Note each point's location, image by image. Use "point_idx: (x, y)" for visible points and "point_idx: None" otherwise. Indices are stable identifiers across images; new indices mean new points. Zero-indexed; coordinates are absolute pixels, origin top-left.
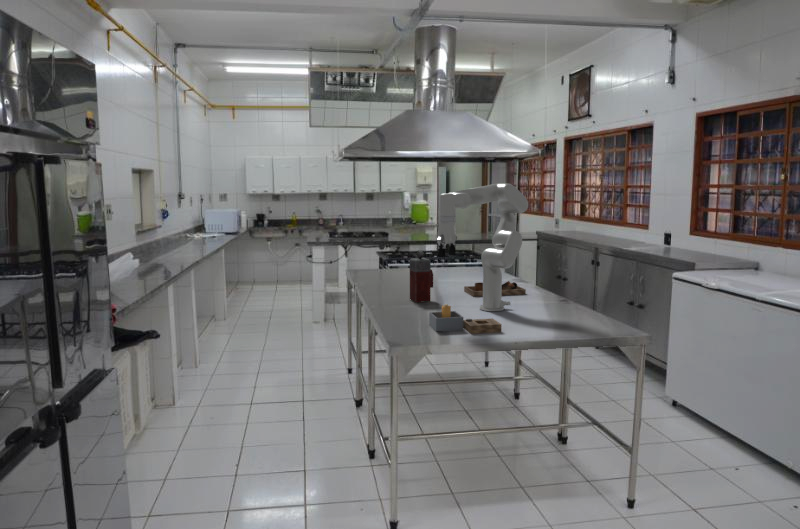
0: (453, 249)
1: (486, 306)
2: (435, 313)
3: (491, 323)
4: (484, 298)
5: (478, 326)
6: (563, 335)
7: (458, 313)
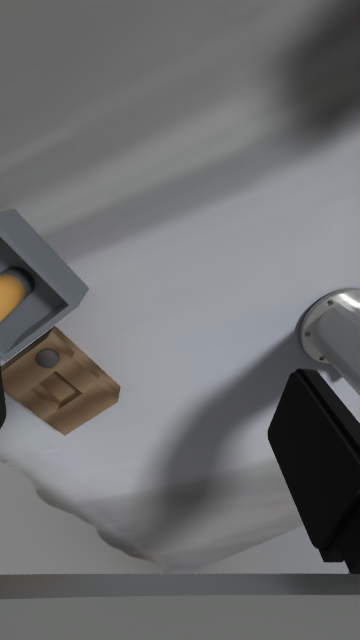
0: (299, 491)
1: (320, 324)
2: (8, 241)
3: (57, 415)
4: (343, 328)
5: (12, 393)
6: (116, 507)
7: (46, 329)
